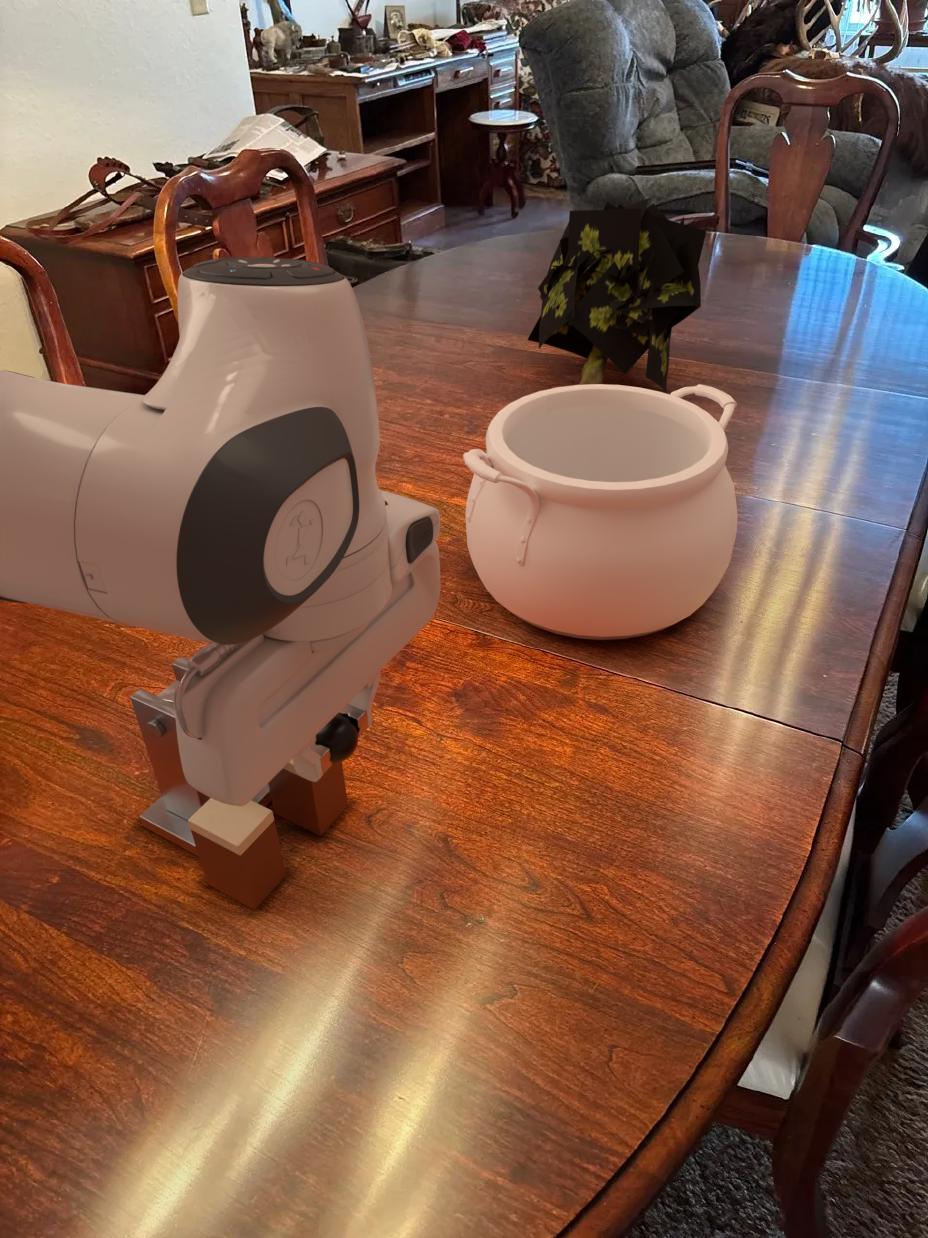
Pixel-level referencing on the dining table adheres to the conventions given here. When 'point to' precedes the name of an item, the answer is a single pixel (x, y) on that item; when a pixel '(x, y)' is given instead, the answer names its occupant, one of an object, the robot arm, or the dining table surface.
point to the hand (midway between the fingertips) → (335, 749)
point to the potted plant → (620, 288)
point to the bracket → (171, 769)
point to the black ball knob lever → (333, 736)
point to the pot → (603, 508)
